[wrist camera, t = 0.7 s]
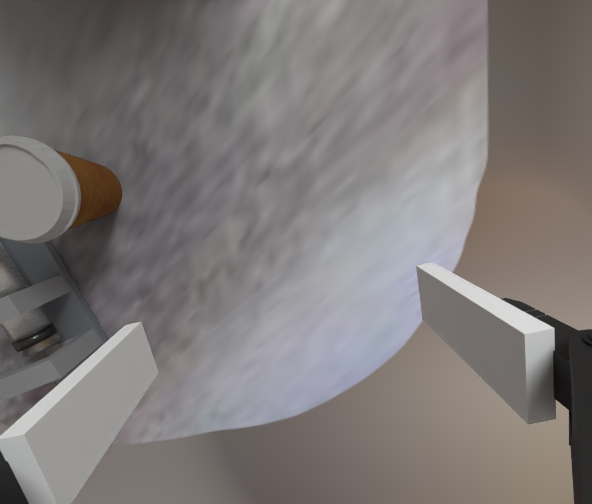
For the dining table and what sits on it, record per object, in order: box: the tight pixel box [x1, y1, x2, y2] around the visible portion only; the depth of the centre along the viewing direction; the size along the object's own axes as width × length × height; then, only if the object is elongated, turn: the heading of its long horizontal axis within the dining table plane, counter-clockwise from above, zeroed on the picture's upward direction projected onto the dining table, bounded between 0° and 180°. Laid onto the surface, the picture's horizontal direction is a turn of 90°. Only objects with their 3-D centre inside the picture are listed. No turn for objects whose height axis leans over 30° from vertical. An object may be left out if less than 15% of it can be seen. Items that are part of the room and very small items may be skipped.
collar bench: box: [0, 237, 108, 402], centre depth 36 cm, size 28×9×11 cm, turn 22°
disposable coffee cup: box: [0, 135, 122, 243], centre depth 32 cm, size 10×10×12 cm
